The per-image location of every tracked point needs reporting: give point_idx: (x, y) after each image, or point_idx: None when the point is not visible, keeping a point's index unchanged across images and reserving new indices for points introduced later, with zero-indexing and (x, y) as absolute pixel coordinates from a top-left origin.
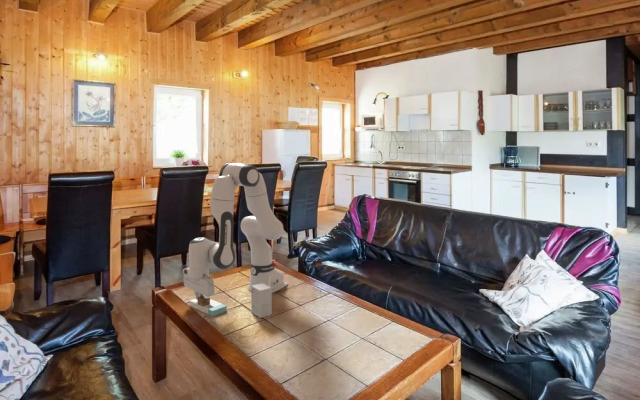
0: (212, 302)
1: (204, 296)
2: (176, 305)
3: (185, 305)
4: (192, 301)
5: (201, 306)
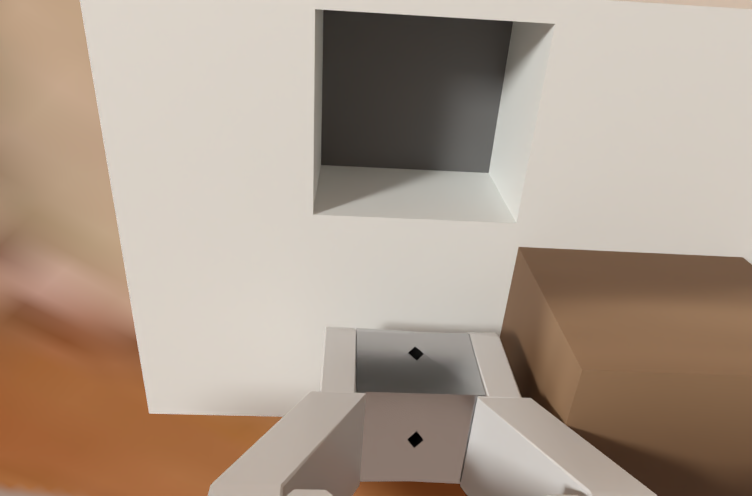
0: (740, 146)
1: (644, 427)
2: (22, 453)
3: (125, 372)
4: (253, 402)
5: None
